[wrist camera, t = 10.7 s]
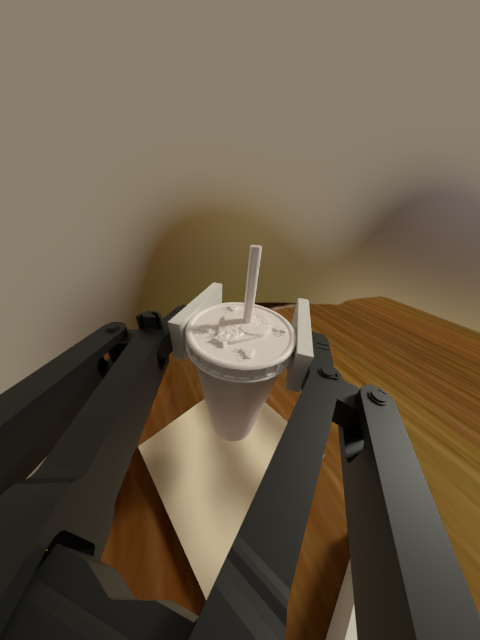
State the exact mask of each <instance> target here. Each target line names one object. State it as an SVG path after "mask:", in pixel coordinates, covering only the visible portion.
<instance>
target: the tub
mask: <svg viewBox="0 0 480 640" xmlns="http://www.w3.org/2000/svg"><path fill="white" fill-rule="evenodd" d="M325 640H357V630H356V619H355V608H354V596H353V585H352V574H351V563H350V560H349V563H348V566H347V570H346V573H345V576H344V580H343V583H342V586H341V590H340V593H339V596H338V600H337V603H336V606H335V610H334V613H333V616H332V619H331V623H330V626H329V629H328V633H327V636H326V639H325Z"/></svg>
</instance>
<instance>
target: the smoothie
mask: <svg viewBox="0 0 480 640" xmlns="http://www.w3.org/2000/svg"><path fill="white" fill-rule="evenodd" d="M261 250H262V246H259V245H250V254H249V264H248V274H247V283H246V294H245V303H240V302H231V303H221V304H216V305H212V306H210V307H207V308H204V309H203V310H201V311H199V312H198V313H196V314H195V315H194V316H193V317H192V318H191V319H190V320H189V322H188V324H187V326H186V331H185V335H186V340H185V343H186V352H187V354H188V356H189V358H190V360H191V362H192V363H193V364H195V365H196V367H197V371H198V375H199V378H200V382H201V386H202V390H203V393H204V397H205V401H206V405H207V409H208V413H209V416H210V420H211V424H212V427H213V430H214V431H215V433H216V434H217V435H218V436H219V437H220V438H222V439H224V440H226V441H239V440H242V439H243V438H245V437H246V436H247V435H248V434H249V433H250V432H251V430H252V428H253V426H254V424H255V422H256V420H257V418H258V416H259V414H260V412H261V409H262V407H263V405H264V403H265V401H266V399H267V397H268V395H269V393H270V391H271V389H272V387H273V385H274V383H275V381H276V379H277V377H278V375H279V374H281V373H282V372H283V371H284V370H285V369H286V368H287V367H288V366H289V365H290V363H291V361H292V359H293V352H294V349H295V346H296V340H297V339H296V333H295V331H294V329H293V327H292V326H291V324H290V323H289V322H288V321H287V320H286V319H285V318H284V317H282V316H281V315H279V314H278V313H276V312H275V311H272V310H270V309H268V308H265V307H262V306H259V305H255V304H254V303H255V295H256V287H257V280H258V272H259V265H260V257H261Z"/></svg>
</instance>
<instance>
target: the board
mask: <svg viewBox="0 0 480 640" xmlns="http://www.w3.org/2000/svg"><path fill="white" fill-rule="evenodd" d="M287 423H288V422H287V421H286V420H284V419H283V418H282V417H281V416H280V415H279V414H278V413H277V412H275V411H274V410H273V409H272V408H271V407H270V406H269V405H268V404H266V403H264V405H263V407H262V409H261V412H260V414H259V416H258V418H257V420H256V422H255V424H254V426H253V428H252V430H251V432H250V433H249V434H248V435H247V436H246V437H245V438H243V439H242V440H239V441H226V440H224V439H222V438H220V437H219V436H218V435H217V434H216V433H215V431H214V430H213V427H212V424H211V420H210V416H209V413H208V409H207V405H206V401H205V399H203V400H202V401H200V402H199V403H198V404H196V405H195V406H194V407H192V408H191V409H189V410H188V411H187V412H185V413H184V414H182V415H181V416H180V417H178V418H177V419H176V420H174V421H173V422H171V423H170V424H169V425H167V426H166V427H164V428H163V429H162V430H160V431H159V432H158V433H156V434H155V435H153V436H152V437H151V438H149V439H148V440H146V441H145V442H144V443H142V444H141V445H140V446H138V448H139V450H140V452H141V455H142V457H143V459H144V461H145V464H146V466H147V468H148V470H149V473H150V475H151V477H152V479H153V482H154V484H155V486H156V488H157V491H158V493H159V495H160V497H161V500H162V502H163V504H164V506H165V509H166V511H167V513H168V515H169V518H170V520H171V522H172V524H173V527H174V529H175V531H176V533H177V536H178V538H179V540H180V542H181V545H182V547H183V549H184V551H185V554H186V556H187V558H188V560H189V563H190V565H191V567H192V569H193V572H194V574H195V576H196V578H197V581H198V583H199V585H200V587H201V590H202V592H203V594H204V596H205V599H206V600H207V598H208V596H209V593H210V591H211V589H212V587H213V585H214V582H215V580H216V578H217V576H218V574H219V572H220V569H221V567H222V565H223V563H224V561H225V559H226V557H227V554H228V552H229V550H230V548H231V546H232V544H233V542H234V540H235V538H236V535H237V533H238V531H239V529H240V527H241V524H242V522H243V520H244V518H245V516H246V513H247V511H248V509H249V507H250V505H251V502H252V500H253V498H254V496H255V494H256V491H257V489H258V487H259V485H260V483H261V480H262V478H263V476H264V474H265V471H266V469H267V467H268V465H269V463H270V460H271V458H272V456H273V454H274V452H275V449H276V447H277V445H278V443H279V441H280V438H281V436H282V434H283V432H284V430H285V427H286V425H287ZM324 456H325V455H324V454H323V458H324ZM323 458H322V459H323Z"/></svg>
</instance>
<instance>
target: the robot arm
mask: <svg viewBox="0 0 480 640" xmlns="http://www.w3.org/2000/svg"><path fill="white" fill-rule="evenodd" d="M221 303H222V284H219V283H213V284H211V285H210V286H209V287H208V288H207V289H206V290H204V291H203V292H202V293H201V294H200V295H199V296H197V297H196V298H195V299H194V300H193V301H192V302H190V303H189V304H188V305H181V306H179V307H177V308H175V309H174V310H173V311H172V312H170V313H169V315H167V316H165V317H164V318H163V319H162V318H161V314H160V313H159V312H156V311H147V312H143V313H140V314H138V315H137V316H136V318H137V322H138V326H139V330H128V329H127V327H126V325H125V324H124V323H122V322H112V323H109V324H106V325H104V326H103V327H101V328H99V329H98V330H96V331H95V332H93V333H92V334H90V335H89V336H88V337H86V338H85V339H83V340H81V341H80V342H78V343H77V344H75V345H74V346H73V347H71V348H69V349H68V350H66V351H65V352H63V353H62V354H60V355H59V356H58V357H56V358H55V359H53V360H52V361H50V362H49V363H47V364H46V365H44V366H43V367H41V368H40V369H38V370H37V371H35V372H34V373H32V374H31V375H29V376H28V377H26V378H25V379H23V380H22V381H20V382H19V383H17V384H16V385H14V386H13V387H11V388H10V389H8V390H7V391H5V392H4V393H2V394H1V395H0V640H285V632H286V619H287V605H288V599H289V594H290V590H291V585H292V581H293V577H294V573H295V569H296V565H297V561H298V557H299V553H300V549H301V544H302V540H303V536H304V532H305V528H306V524H307V520H308V516H309V512H310V507H311V503H312V499H313V495H314V491H315V487H316V483H317V479H318V475H319V471H320V466H321V462H322V458H323V454H324V450H325V446H326V442H327V438H328V434H329V429H330V425H331V421H333V422H334V423H336V424H338V428H339V440H340V451H341V462H342V473H343V484H344V496H345V507H346V518H347V529H348V540H349V552H350V563H351V574H352V585H353V596H354V608H355V619H356V630H357V640H480V616H479V614H478V611H477V609H476V606H475V603H474V601H473V598H472V596H471V593H470V591H469V588H468V586H467V583H466V581H465V578H464V576H463V573H462V571H461V568H460V566H459V563H458V560H457V558H456V555H455V553H454V550H453V548H452V545H451V543H450V540H449V538H448V535H447V533H446V530H445V528H444V525H443V522H442V520H441V517H440V515H439V512H438V510H437V507H436V505H435V502H434V500H433V497H432V495H431V492H430V490H429V487H428V485H427V482H426V479H425V477H424V474H423V472H422V469H421V467H420V464H419V462H418V459H417V457H416V454H415V452H414V449H413V447H412V444H411V442H410V439H409V436H408V434H407V431H406V429H405V426H404V424H403V421H402V419H401V416H400V414H399V411H398V409H397V406H396V404H395V402H394V400H393V399H392V397H391V396H390V395H389V394H388V393H386V392H385V391H383V390H382V389H380V388H378V387H376V386H373V385H363V386H362V387H361V388H358V387H356V386H353V385H351V384H349V383H348V382H346V381H344V380H343V379H342V378H341V375H340V373H339V372H338V371H337V370H336V369H335V368H334V365H333V361H332V356H331V351H330V347H329V342H328V339H327V338H326V337H325V335H324V334H319V333H315V332H311V321H310V310H309V300H307V299H301V298H298V302H297V305H296V309H295V312H294V316H293V320H292V323H291V326H292V327H293V329H294V331H295V333H296V339H297V340H296V346H295V349H294V352H293V359H292V361H291V363H290V365H289V366H288V367H287V376H286V388H285V389H287V390H291V391H294V392H298V393H299V392H300V390H301V387H302V392H301V394H300V397H299V399H298V401H297V403H296V405H295V408H294V410H293V412H292V414H291V416H290V419H289V421H288V423H287V425H286V427H285V430H284V432H283V434H282V436H281V438H280V441H279V443H278V445H277V447H276V449H275V452H274V454H273V456H272V458H271V460H270V463H269V465H268V467H267V469H266V471H265V474H264V476H263V478H262V480H261V483H260V485H259V487H258V489H257V491H256V494H255V496H254V498H253V500H252V502H251V505H250V507H249V509H248V511H247V513H246V516H245V518H244V520H243V522H242V524H241V527H240V529H239V531H238V533H237V535H236V538H235V540H234V542H233V544H232V546H231V548H230V550H229V552H228V554H227V557H226V559H225V561H224V563H223V565H222V567H221V569H220V572H219V574H218V576H217V578H216V580H215V582H214V585H213V587H212V589H211V591H210V593H209V596H208V598H207V600H206V602H205V604H204V607H203V609H202V611H201V613H200V615H199V616H197V615H196V614H194V613H192V612H190V611H188V610H187V609H185V608H183V607H181V606H180V605H178V604H176V603H174V602H173V601H171V600H139V599H136V598H135V597H134V595H133V594H132V592H131V591H130V589H129V588H128V586H127V585H126V583H125V582H124V580H123V579H122V577H121V576H120V574H119V573H118V571H117V570H116V569H114V568H113V567H111V566H109V565H107V564H106V563H104V562H102V561H100V558H101V555H102V552H103V550H104V547H105V544H106V542H107V539H108V536H109V533H110V530H111V527H112V523H113V518H114V506H115V501H116V498H117V495H118V493H119V490H120V487H121V485H122V482H123V480H124V477H125V474H126V472H127V469H128V467H129V464H130V461H131V459H132V456H133V454H134V451H135V448H136V446H137V443H138V440H139V438H140V435H141V433H142V430H143V427H144V425H145V422H146V420H147V417H148V414H149V412H150V409H151V407H152V404H153V401H154V399H155V396H156V394H157V391H158V388H159V386H160V383H161V381H162V378H163V375H164V373H165V370H166V368H167V365H168V362H169V354H170V353H171V352H172V351H173V357H174V358H177V359H180V360H185V359H186V358H187V356H188V354H187V352H186V343H185V340H186V335H185V331H186V326H187V324H188V322H189V320H190V319H191V318H192V317H193V316H194V315H195V314H196V313H198V312H199V311H201V310H203V309H204V308H207V307H210V306H212V305H216V304H221ZM107 352H108V355H109V357H110V358H108V359H107V360H104V357H103V356H104V355H105V354H106V353H107ZM46 457H47V458H46ZM45 458H46V459H45ZM44 459H45V461H44V462H43V463H42V465H41V466H40V467H39V469H38V470H37V471H36V472H35V473H34V474H33V475H32V476H31V477H29V478H28V479H26V478H27V477H28V476H29V475H30V474H31V473H32V471H33V470H34V469H35V468H36V467H37V466H38V465H39V464H40V463H41V462H42V461H43V460H44ZM25 479H26V480H25ZM46 549H48V551H45V550H46Z"/></svg>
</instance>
